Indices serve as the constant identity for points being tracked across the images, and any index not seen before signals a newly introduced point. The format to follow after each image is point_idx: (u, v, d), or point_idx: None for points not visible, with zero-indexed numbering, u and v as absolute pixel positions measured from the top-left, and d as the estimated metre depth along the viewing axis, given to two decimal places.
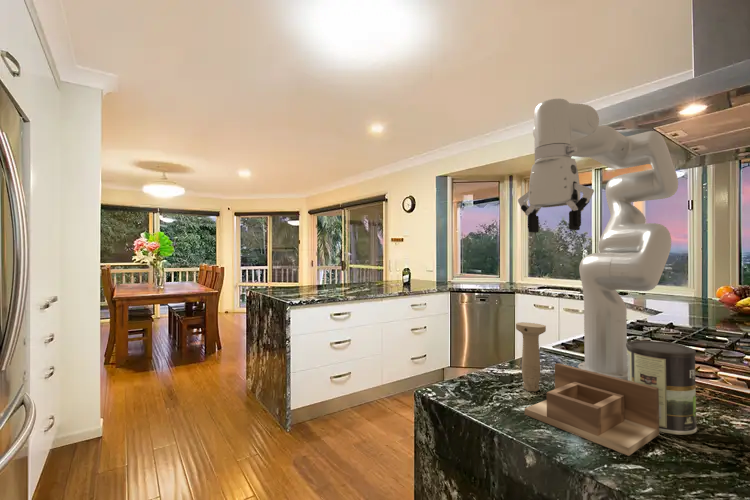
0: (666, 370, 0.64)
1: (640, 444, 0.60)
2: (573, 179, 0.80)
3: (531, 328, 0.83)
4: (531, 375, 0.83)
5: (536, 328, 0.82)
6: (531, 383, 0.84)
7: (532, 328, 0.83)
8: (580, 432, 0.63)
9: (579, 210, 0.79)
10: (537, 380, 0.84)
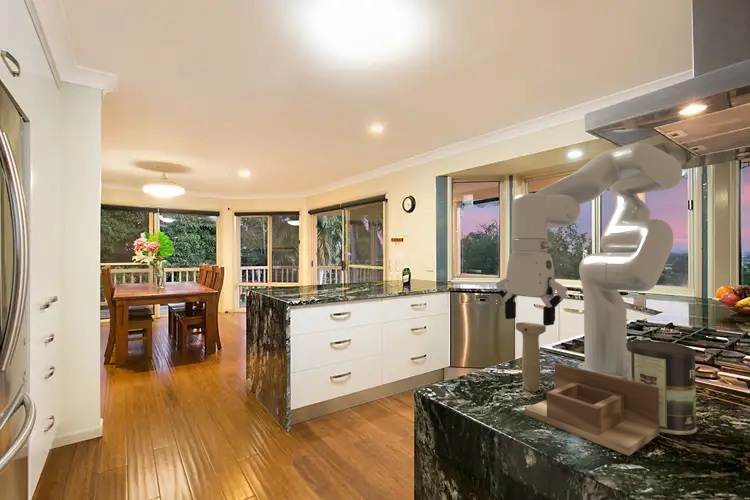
0: (666, 370, 0.64)
1: (640, 444, 0.60)
2: (548, 275, 0.81)
3: (531, 328, 0.83)
4: (531, 375, 0.83)
5: (536, 328, 0.82)
6: (531, 383, 0.84)
7: (532, 328, 0.83)
8: (580, 432, 0.63)
9: (553, 306, 0.80)
10: (537, 380, 0.84)
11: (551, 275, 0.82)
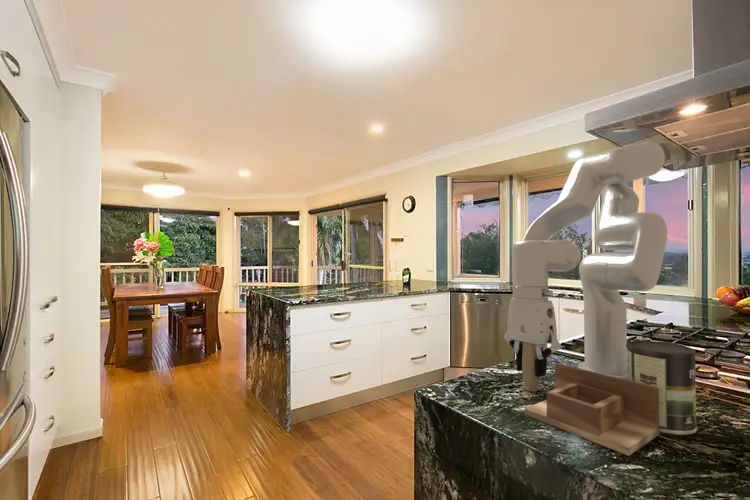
0: (666, 370, 0.64)
1: (640, 444, 0.60)
2: (549, 323, 0.81)
3: None
4: (531, 375, 0.83)
5: None
6: (531, 383, 0.84)
7: None
8: (580, 432, 0.63)
9: None
10: (537, 380, 0.84)
11: (552, 323, 0.82)
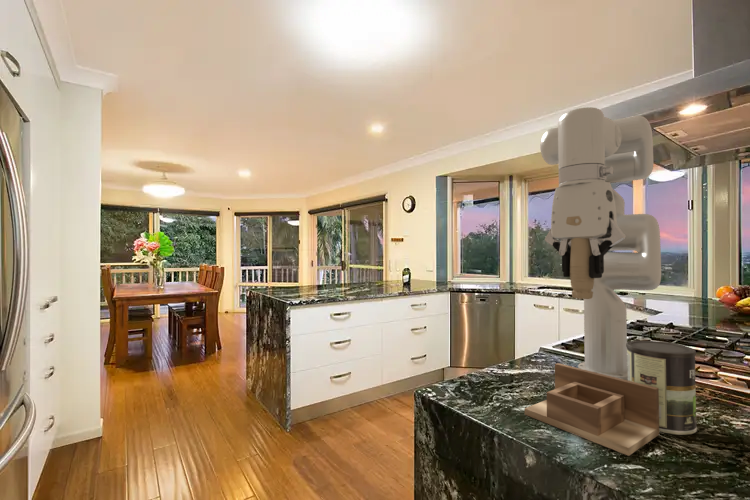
0: (666, 370, 0.64)
1: (640, 444, 0.60)
2: (609, 208, 0.64)
3: None
4: (583, 278, 0.66)
5: None
6: (583, 288, 0.66)
7: None
8: (580, 432, 0.63)
9: None
10: (591, 284, 0.66)
11: (612, 209, 0.64)
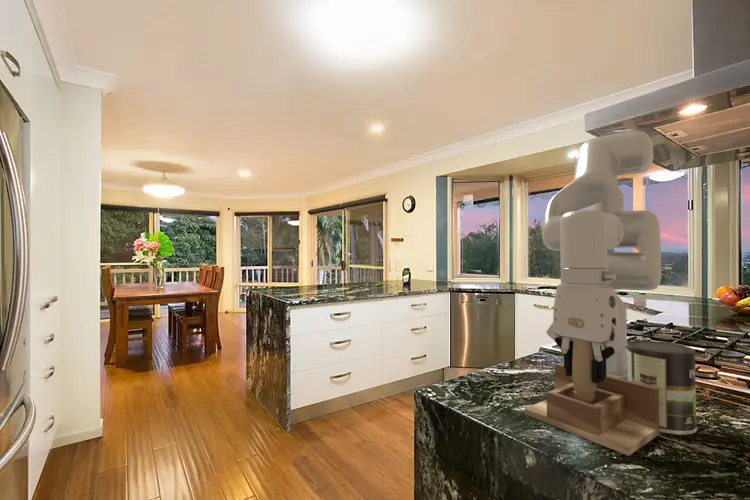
0: (666, 370, 0.64)
1: (640, 444, 0.60)
2: (612, 315, 0.63)
3: None
4: (586, 381, 0.66)
5: None
6: (586, 391, 0.66)
7: None
8: (580, 432, 0.63)
9: (602, 360, 0.65)
10: (593, 387, 0.66)
11: (615, 315, 0.64)
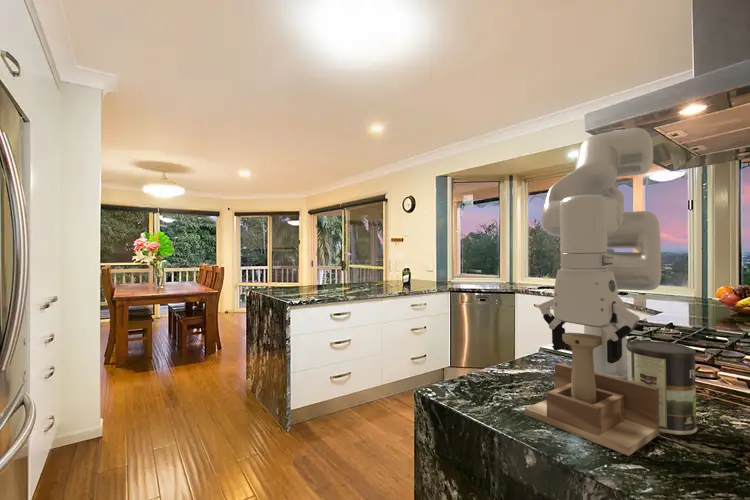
0: (666, 370, 0.64)
1: (640, 444, 0.60)
2: (612, 299, 0.64)
3: (584, 340, 0.66)
4: (585, 400, 0.66)
5: (591, 340, 0.65)
6: None
7: (586, 340, 0.66)
8: (580, 432, 0.63)
9: (620, 339, 0.63)
10: None
11: (615, 299, 0.64)
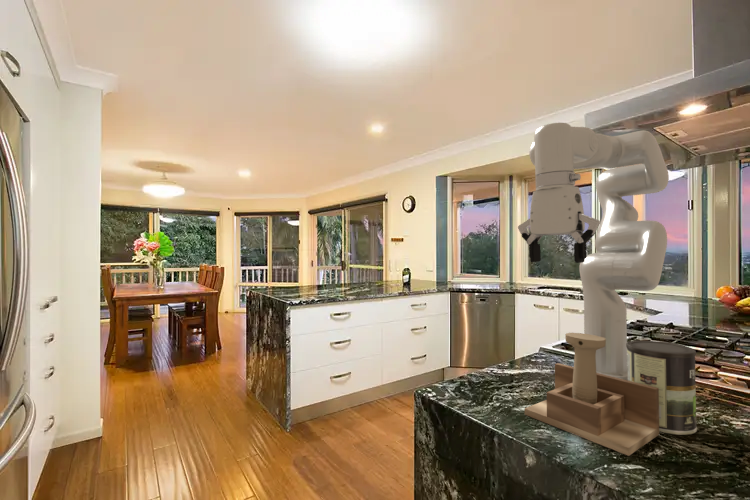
0: (666, 370, 0.64)
1: (640, 444, 0.60)
2: (577, 209, 0.76)
3: (588, 341, 0.65)
4: (586, 401, 0.66)
5: (595, 342, 0.65)
6: None
7: (589, 341, 0.65)
8: (580, 432, 0.63)
9: (584, 242, 0.75)
10: None
11: (580, 209, 0.76)
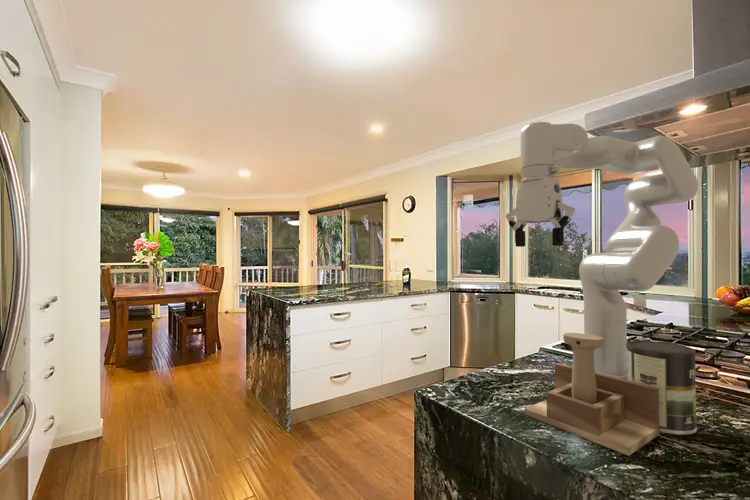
0: (666, 370, 0.64)
1: (640, 444, 0.60)
2: (556, 198, 0.85)
3: (586, 341, 0.65)
4: (586, 400, 0.66)
5: (592, 341, 0.65)
6: None
7: (587, 341, 0.65)
8: (580, 432, 0.63)
9: (562, 227, 0.84)
10: None
11: (559, 198, 0.86)
